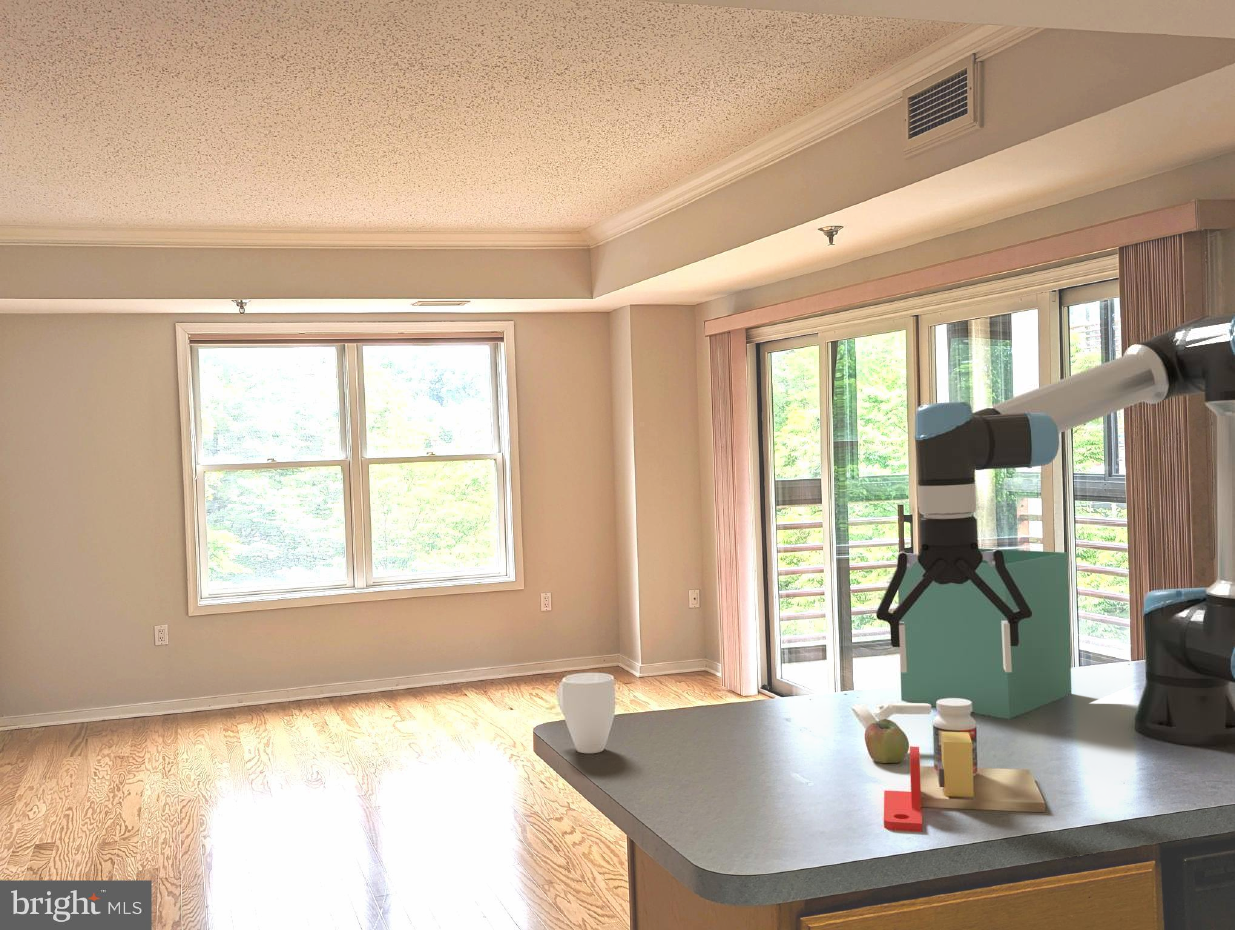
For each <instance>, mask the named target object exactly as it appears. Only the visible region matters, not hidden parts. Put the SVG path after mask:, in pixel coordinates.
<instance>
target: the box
mask: <svg viewBox="0 0 1235 930" xmlns="http://www.w3.org/2000/svg"><path fill="white" fill-rule="evenodd" d="M978 548H979V547H978ZM994 549H995V548H979V550H980V552H986V551H993V550H994ZM998 549H999V548H998ZM999 550H1001V551H1002V552H1003V556H1004V562H1005V567H1006V569H1007V570H1008V572H1009V574H1010V575H1011V577H1012V579H1013V581H1014V582H1015V584H1016V586H1017V587H1018V589H1019V591H1020V593H1021V594H1022V596H1023V598H1024V599H1025V601H1026V603H1027V605H1028V606H1029V608H1030V610H1031V611H1032V616H1031V617H1030V618H1025V619H1022V620H1020V621H1019V623H1018V634H1019V643H1018V646H1011V666H1012V672H1005V670H1004V668H1003V647H1002V626H1001V621H1007V618H1006V617H1005V616H1004V615H1003V614H1002V613H1001V612H1000V611H999V610H998V609H997V607H996V606H995V605H994V604H993V603H992V602H991V601H990V600H989V599H988V598H987V597H986V596H985V595H984V594H983V593H982V592H981V591H980V590H979V589H978V588H977V587H976V586H975V585H974V584H973V583H972V582H971V580H970V579H969V580H968V581H967V582H965V583H963V584H955V583H949V584H942V585H940V584H938V583H936V582H934V581H933V582H932V583H931V584H930V585H929V587H928V588H926V590H925V591H924V592H923V593H922V595H921V596H920V597H919V598H918V599H917V601H916V602H915V603H914V604H913V606H912V607H911V608H910V609H909V610H908V612H907V613H906V614H905V615H904V616H903V618H902V619H901V620H900V621H899V622H904V625H905V644H906V664H907V673H901V663H900V662H899V663H900V665H899V666H900V696H901V697H900V699H901V701H902V702H903V701H904V702H907V703H927V704H930V705H931V707H937V704H936V702H937V701H938V700H940V699H946V698H960V699H966V700H969V701H971V702H972V710H973V711H972V712H975V713H974V714H977V713H978V714H977V715H983V714H985V715H984V716H988V715H993V716H992V717H994V716H996V718H1000V717H1002V718H1001V719H1006V718H1010V719H1013V718H1015V717H1018V716H1020V715H1022V714H1024V713H1027V712H1030V711H1033V710H1035V709H1038V708H1040V707H1043V706H1045V705H1048V704H1051V703H1052V702H1055V701H1057V700H1060V699H1062V698H1065V697H1067V696H1070V695H1072V671H1071V670H1072V666H1071V665H1072V662H1071V661H1072V660H1071V632H1070V631H1071V629H1070V626H1071V625H1070V591H1069V590H1070V588H1069V560H1068V559H1069V557H1068V554H1069V553H1068V552H1067V551H1066V552H1062V551H1061V552H1060V551H1045V550H1043V551H1041V550H1021V549H1003V548H1002V549H999ZM897 561H898V557H897V558H896V562H897ZM975 572H976V573H977V574H978V575H979V576H980V577H981V578H982V579H983V580H984V581H985V582H986V583H987V585H988V586H989V587H990V588H991V589H992V590H993V591H994V592H995V593H996V594H997V595H998V596H999V597H1000V598H1001V599H1002V600H1003V601H1004V602H1005V603H1006V604H1007V605H1008V606H1009V607H1010V608H1011V610H1012V611H1015V610H1017V609H1018V607H1017V605H1016V604H1015V602H1014V600H1013V598H1012V597H1011V595H1010V593H1009V592H1008V590H1007V588H1006V586H1005V585H1004V583H1003V581H1002V580H1001V578H1000V576H999V574H998V573H997V571H996V569H995V567H992V566H990V565H989V564H988V562H987V561H986V560H982V562H981V564H980V565H979V566H978V568H977V569H976V571H975ZM924 573H925V570H924V569H923V568H922V566H921V565H920V564H919V562H915V563H914V564H913V566H912V567H911V568H910V569H906V573H905V575H904V578H903V580H902V582H901V584H900V586H899V588H898V591H897V594H898V596H897V598H898V603H897V604H898V605H899V604H900V603H901V601H902V600H903V599H904V598H905V597H906V595H907V594H908V593H909V592H910V590H911V589H912V588H913V587H914V586H915V584H916V583H917V582H918V581H919V579H920V578H921V576H922V575H923V574H924ZM1032 709H1033V710H1032ZM1017 715H1018V716H1017ZM1012 717H1013V718H1012Z"/></svg>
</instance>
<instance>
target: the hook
mask: <svg viewBox="0 0 1235 930" xmlns="http://www.w3.org/2000/svg"><path fill="white" fill-rule="evenodd" d="M850 707H851V711H852V713H853V714H854V715H855V717H856V718H857V720H858V721H859V723H860V724H861V725H862V727H864V729H865V730H866V728H867V727H868V726H869V725H870V724H872V723H875V722H876V721H879V720H883V719H888V720H889V718H890V717H891V716H893V715H930V714H931V712H932V706H931V705H930V704H927V703H914V702H884V703H880V704H879V705H878V706H877V707H875V708H874V710H873V713H872V712H871V711H870V710H869V709H868V708H867V707H866V706H865V705H864V704H863V703H861V704H855V705H852V706H850ZM873 714H874V715H873Z"/></svg>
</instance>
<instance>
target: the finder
mask: <svg viewBox="0 0 1235 930" xmlns="http://www.w3.org/2000/svg"><path fill="white" fill-rule="evenodd" d="M941 750H942V762H938V782H939V787H943V789H944V793H945V796H959V797H974V792H973V757H972V741H971V738H970V735H969V732H941Z"/></svg>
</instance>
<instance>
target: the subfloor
mask: <svg viewBox="0 0 1235 930" xmlns="http://www.w3.org/2000/svg"><path fill="white" fill-rule="evenodd" d="M977 768H978V770H977V774H976V776H974V777H973V792H974V797H959V796H945V793H944V789H943V787H939V782H938V774H937V773H936V772H935V770H934V765H920V786H921V808H935V809H936V808H937V809H938V808H940V809H958V810H959V809H960V810H961V809H962V810H963V809H964V810H980V811H981V810H983V811H1007V812H1008V811H1009V812H1025V813H1026V812H1029V813H1030V812H1033V813H1046V802H1045V800H1044V798H1043V796H1042V793H1041V791H1040V789H1039V787H1038V785H1037V783H1036V781H1035V779H1034V777H1033V775H1032V772H1031V771H1030V769H1019V768H1018V769H1017V768H990V767H989V768H985V767H977Z"/></svg>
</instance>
